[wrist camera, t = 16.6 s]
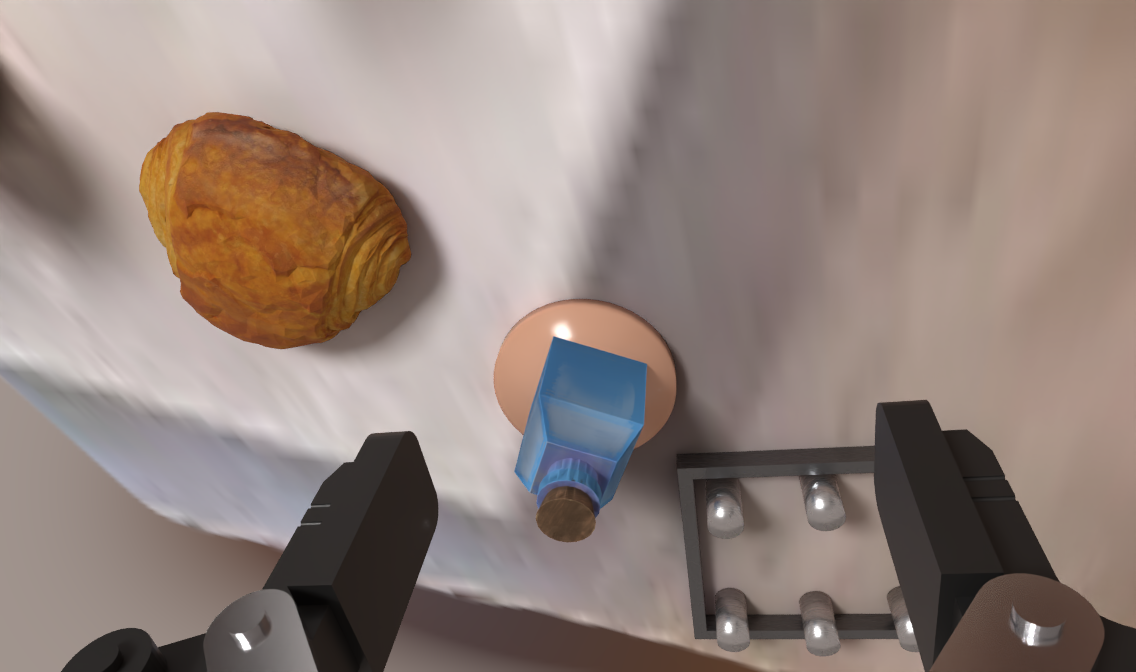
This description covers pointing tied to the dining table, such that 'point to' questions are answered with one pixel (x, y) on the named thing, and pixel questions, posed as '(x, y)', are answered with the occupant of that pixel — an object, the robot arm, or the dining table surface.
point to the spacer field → (822, 515)
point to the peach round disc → (591, 328)
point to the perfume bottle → (580, 435)
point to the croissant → (271, 230)
